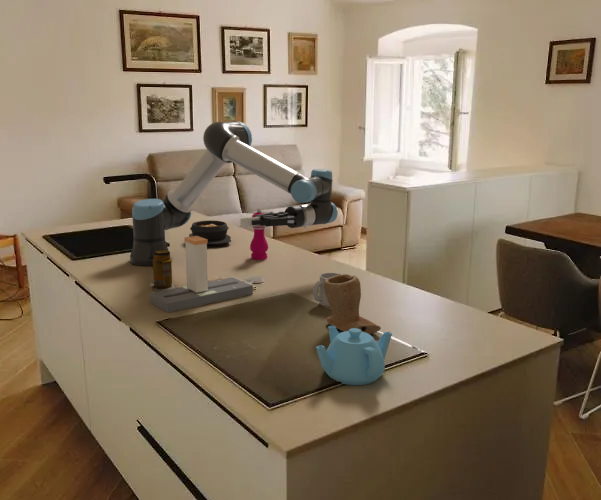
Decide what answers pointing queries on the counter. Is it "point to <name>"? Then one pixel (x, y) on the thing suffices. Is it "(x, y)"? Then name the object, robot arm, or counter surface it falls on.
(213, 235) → the casserole
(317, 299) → the cup
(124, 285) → the counter surface
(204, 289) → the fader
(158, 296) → the console
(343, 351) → the teapot
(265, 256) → the pepper mill
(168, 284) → the condiment
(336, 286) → the brown boot
